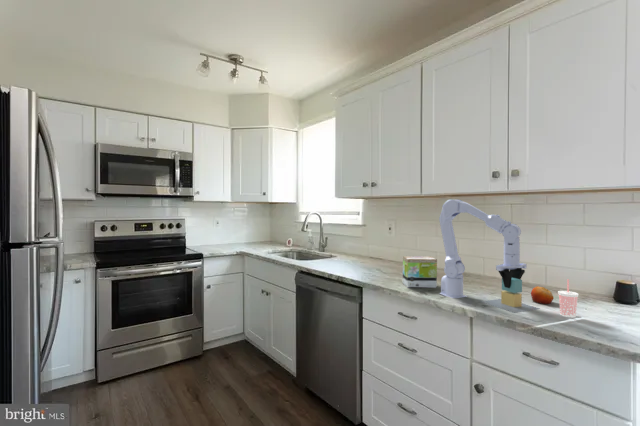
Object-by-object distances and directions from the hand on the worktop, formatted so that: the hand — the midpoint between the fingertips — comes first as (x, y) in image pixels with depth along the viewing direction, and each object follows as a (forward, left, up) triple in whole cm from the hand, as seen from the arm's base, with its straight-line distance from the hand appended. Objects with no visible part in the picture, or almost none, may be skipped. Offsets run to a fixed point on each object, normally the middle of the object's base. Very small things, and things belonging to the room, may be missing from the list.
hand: (511, 287), depth 136 cm
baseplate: (0, -1, -8) cm, 8 cm away
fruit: (+2, +15, -8) cm, 17 cm away
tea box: (-43, -13, -8) cm, 46 cm away
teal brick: (0, 0, -2) cm, 2 cm away
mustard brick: (0, 0, -7) cm, 7 cm away
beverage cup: (+17, +8, -8) cm, 20 cm away
